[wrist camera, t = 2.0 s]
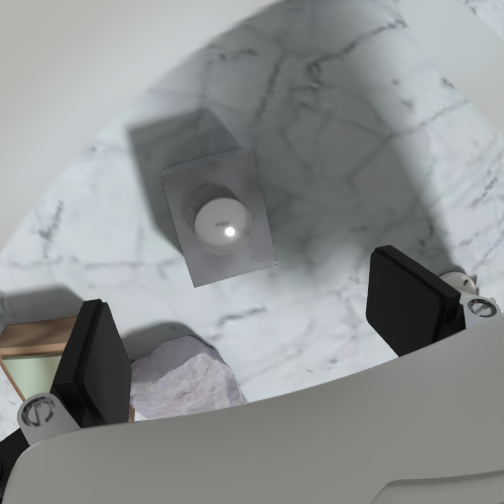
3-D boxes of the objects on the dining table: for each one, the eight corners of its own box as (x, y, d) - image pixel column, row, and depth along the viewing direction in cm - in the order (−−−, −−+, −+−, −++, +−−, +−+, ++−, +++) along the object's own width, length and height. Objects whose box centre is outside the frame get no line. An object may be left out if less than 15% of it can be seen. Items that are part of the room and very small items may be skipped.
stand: (100, 313, 26) (89, 343, 22) (135, 398, 30) (133, 429, 26) (6, 325, 24) (-11, 351, 20) (50, 403, 29) (41, 431, 25)
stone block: (191, 314, 30) (111, 369, 28) (205, 340, 26) (114, 400, 24) (248, 383, 35) (180, 427, 34) (266, 409, 31) (190, 456, 30)
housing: (241, 147, 24) (257, 152, 19) (262, 243, 27) (281, 271, 22) (164, 167, 23) (158, 178, 18) (191, 262, 26) (195, 296, 21)
